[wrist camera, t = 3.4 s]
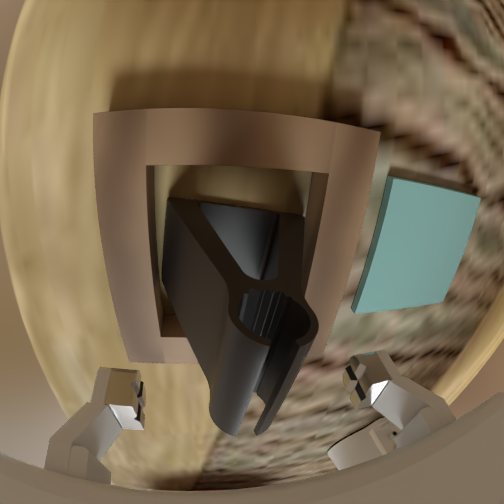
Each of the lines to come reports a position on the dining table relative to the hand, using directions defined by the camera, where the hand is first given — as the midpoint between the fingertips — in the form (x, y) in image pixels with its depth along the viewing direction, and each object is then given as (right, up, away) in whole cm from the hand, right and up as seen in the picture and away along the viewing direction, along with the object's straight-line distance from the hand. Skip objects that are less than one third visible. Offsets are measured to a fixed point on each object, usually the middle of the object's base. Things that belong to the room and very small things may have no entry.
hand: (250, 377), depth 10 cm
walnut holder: (-1, +5, +10) cm, 11 cm away
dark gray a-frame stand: (-1, +5, +10) cm, 11 cm away
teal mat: (+15, +5, +13) cm, 20 cm away
